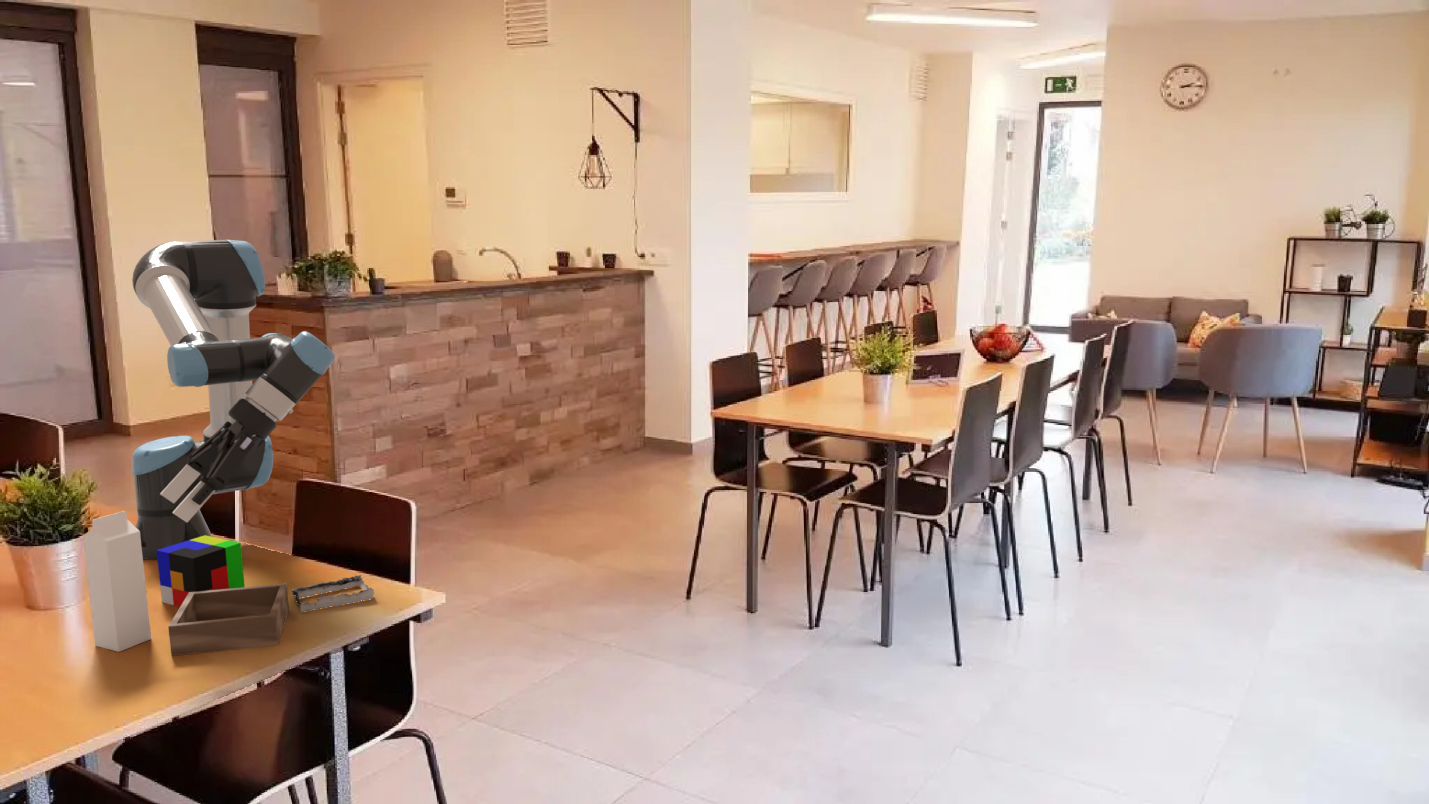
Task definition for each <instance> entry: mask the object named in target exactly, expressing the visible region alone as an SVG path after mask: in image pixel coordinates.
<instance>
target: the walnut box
mask: <svg viewBox="0 0 1429 804" xmlns="http://www.w3.org/2000/svg"><path fill="white" fill-rule="evenodd" d="M289 611H290V606H289V593H288V584H287V583H278V584H277V583H276V584H267V585H255V586H245V587H243V588H232V589H221V590H209V591H198V592H189V593H188V595H187V597H186V598H185V600H184V602H183V603H182V605H181V607H179V608H178V610H177V611H176V613H175V615H174V616H173V619H172V620H171V622H170V623H169V625H168V626H167V627H168V636H169V645H170V655H171V657H172V656H173V657H174V656H183V655H193V654H203V653H212V652H213V653H214V652H221V651H223V652H224V651H230V650H231V651H232V650H241V649H252V648H259V647H261V648H262V647H268V646H269V647H270V646H278V645H279V641H280V639H281V635H282V633H283V630H284V627H283V626H285V624H284V623H286V621H285V620H286V619H287V617H288V615H289Z"/></svg>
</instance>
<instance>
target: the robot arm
mask: <svg viewBox="0 0 1429 804" xmlns="http://www.w3.org/2000/svg"><path fill="white" fill-rule="evenodd" d="M265 278H266V277H265V272H264V268H263V264H262V261H261V259H260V256H259V254H258V251H257V250H256V248H255V247H254V245H253V244H252V243H250V242H248V241H246V240H238V239H237V240H233V239H213V240H211V239H209V240H190V241H189V240H188V241H180V240H179V241H178V240H176V241H175V240H174V241H169V242H168V241H167V242H164V243H161V244H159V245H155V246H154V247H153V248H151V249H149V250H148V251H147V252H145V254H143V256H142V257H141V258H140V259H139V260H138V262H137V263H136V265H135V267H134V270H133V273H132V287H133V290H134V293H135V295H136V297H137V299H138V300H139V302H140V303H142V304H143V305H144V306H145V307H146V308H147V309H148V308H149V309H150V310H151V312H152V314H153V315H154V318H155V319H156V321H157V323H158V325H159V327H160V328H161V331H162V332H163V334H164V336H165V337H166V339H167V341H168V343H169V345H170V347H168V349H167V353H166V354H167V355H166V356H167V357H166V358H167V362H166V363H167V370H168V373H169V376H170V380H171V382H172V383H173V384H174V385H175V386H177V387H179V388H181V387H182V388H183V387H185V388H187V387H195V388H197V387H198V388H201V387H203V386H208V402H209V403H208V404H209V420H210V421H209V422H210V423H209V425H208V426H206V428H204V429H203V432H202V433H203V440H201V441H200V440H199V441H195V440H194V438H193V437H192V436H190V435H178V436H176V435H175V436H168V437H163V438H158V439H155V440H151V441H149V442H145V443H144V444H141V445H140V446H138V447H137V448H136V449H135V450H134V451H133V453H132V459H131V460H132V461H131V462H132V469H131V472H132V473H131V474H132V475H133V480H134V481H133V482H134V491H135V500H136V511H137V520H136V522H135V523H136V524H135V527H136V528H137V529H138V530H139V531H140V538H141V547H142V556H143V560H152V561H153V560H155V561H156V560H157V550H159V549H162V548H165V547H169V546H172V545H175V544H178V543H182V542H185V541H188V540H191V539H195V538H198V537H201V536H204V535H206V536H211V537H212V533H211V531H210V529H209V527H208V525H207V523H206V521H205V518H204V516H203V514H202V512H201V509H202V507H203V505H204V504H205V503H206V502H207V501H208V500H209V499H210V498H211V497H212V495H216V494H224V493H229V492H236V491H247V490H249V489H253V488H258V487H261V486H264V485H265V484H267V482H268V481H269V479H270V477H271V475H272V471H273V467H274V465H273V464H274V450H273V443H272V440H271V437H270V435H271V434H272V432H273V431H274V430H275V429H276V427H277V423H276V422H277V421H279V422H280V421H282V420H284V418H285V417H286V416H287V415H288V414H289V415H291V414H292V413H294V409H293V408H294V407H295V405H296V404H298V403H299V402H300V400H301V399H302V398H303V397H304V396H305V395H306V394H307V393H308V391H309V390H311V388H312V387H313V386H314V385H315V384H316V383H317V382H318V380H319V379H320V378H321V377H322V376H323V375H325V374H326V373H327V370H328V369H329V368H330V367H331V365H332V364H333V363H334V361H335V359H336V355H335V353H334V352H333V350H332V349H331V348H330V347H329V346H328V345H326V344H325V343H324V342H322V340H321V339H319V338H317V337H316V336H315V335H314V334H312V333H310V332H308V331H306V330H304V331H301V332H299V334H298V335H297V336H295V337H293V338H292V337H289V336H288V335H284V333H283V334H282V333H276V332H275V333H274V332H271V333H270V332H269V333H266V334H264V335H262V336H260V337H254V338H253V337H252V338H251V334H250V333H251V332H250V329H251V328H250V316H249V315H250V313H251V311H253V310H254V308H256V307H257V297H260V296H263V295H264V294H265V292H266V290H265V288H266V279H265ZM253 382H254V383H253ZM157 561H158V560H157Z"/></svg>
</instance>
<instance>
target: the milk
mask: <svg viewBox="0 0 1429 804" xmlns="http://www.w3.org/2000/svg"><path fill="white" fill-rule="evenodd" d="M91 524H92V529H90V530H89V531H88V532H87V533H85V534H84V535H83V536H82V545H83V553H84V561H85V568H86V569H85V570H86V577H87V578H86V579H87V586H88V596H89V603H90V613H91V620H92V621H91V623H92V629H93V640H94V646H95V647H98V648H103V649H106V650H109V651H112V652H113V651H114V652H118V653H119V652H122V651H124V650H125V651H126V650H127V649H129V648H130V649H131V648H132V647H135V646H138V645H140V644H142V643H144V642H147V641H150V640H151V639H152V634H151V625H150V623H151V622H150V616H149V615H150V614H149V606H148V604H149V603H148V596H147V588H146V587H147V585H146V577H145V567H144V559H143V556H142V547H141V538H140V531H139V530H138V529H137V528H136V525H134V524H133V523H132V522H131V521H130V520H129V519H128V513H127V511H125V510H122V511H119V512H115V513H112V514H108V515H104V516H100V517H97V518H94V519H92V520H91Z"/></svg>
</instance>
